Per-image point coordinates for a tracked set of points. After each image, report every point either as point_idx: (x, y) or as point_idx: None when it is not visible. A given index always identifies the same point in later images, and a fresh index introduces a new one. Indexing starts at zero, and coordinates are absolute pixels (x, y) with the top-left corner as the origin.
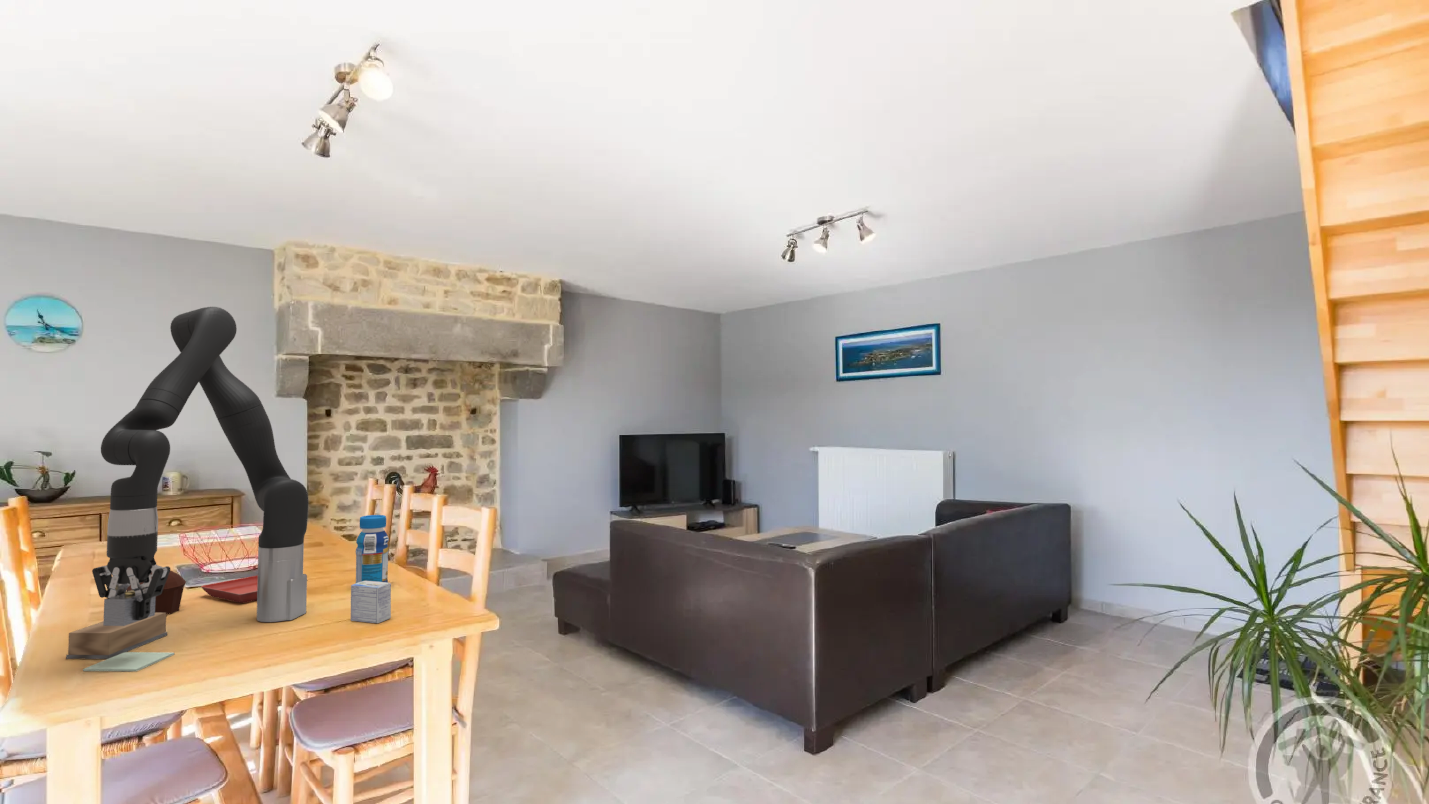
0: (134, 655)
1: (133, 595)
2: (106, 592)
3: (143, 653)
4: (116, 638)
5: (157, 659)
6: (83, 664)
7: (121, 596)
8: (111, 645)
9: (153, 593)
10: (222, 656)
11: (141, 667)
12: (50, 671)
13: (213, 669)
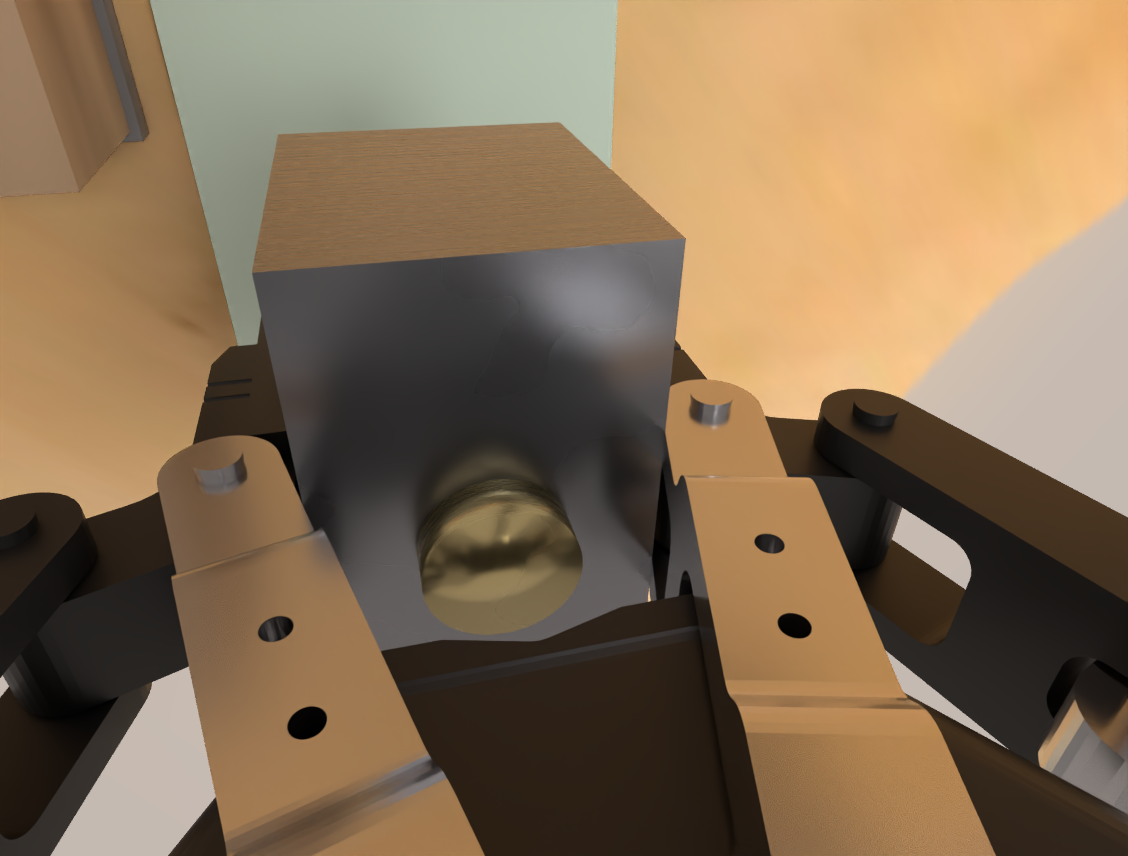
0: (339, 85)
1: (586, 567)
2: (127, 691)
3: (372, 30)
4: (69, 69)
5: (601, 160)
6: (81, 263)
7: (459, 635)
8: (102, 120)
9: (897, 560)
10: (978, 15)
11: None
12: (9, 405)
13: (1000, 250)
